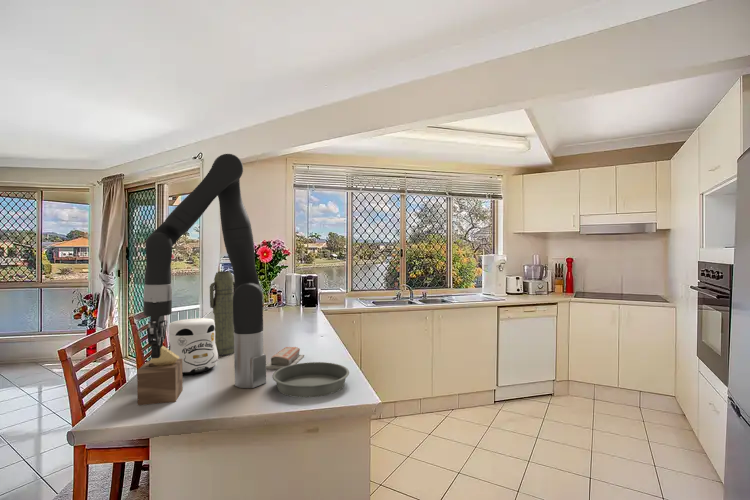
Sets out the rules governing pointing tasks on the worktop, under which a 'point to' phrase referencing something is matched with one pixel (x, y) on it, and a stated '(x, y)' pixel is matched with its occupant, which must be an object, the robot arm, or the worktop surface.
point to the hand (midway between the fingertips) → (157, 356)
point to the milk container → (194, 344)
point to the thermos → (223, 311)
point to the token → (165, 358)
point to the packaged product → (285, 358)
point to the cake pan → (310, 379)
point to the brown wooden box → (159, 383)
